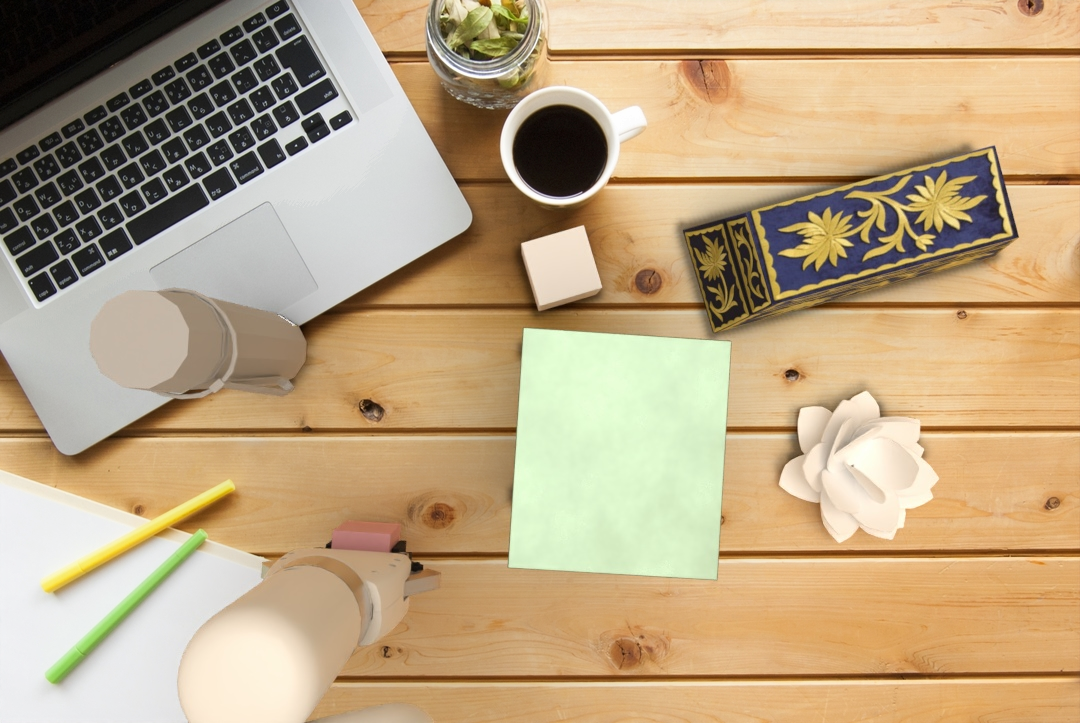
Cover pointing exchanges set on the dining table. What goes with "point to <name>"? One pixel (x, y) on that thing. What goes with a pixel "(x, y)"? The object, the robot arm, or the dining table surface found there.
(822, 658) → the dining table surface
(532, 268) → the pale peach cube
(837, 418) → the lotus flower
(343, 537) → the pink box
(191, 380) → the water bottle
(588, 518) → the pale green block
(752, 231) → the decorative box
